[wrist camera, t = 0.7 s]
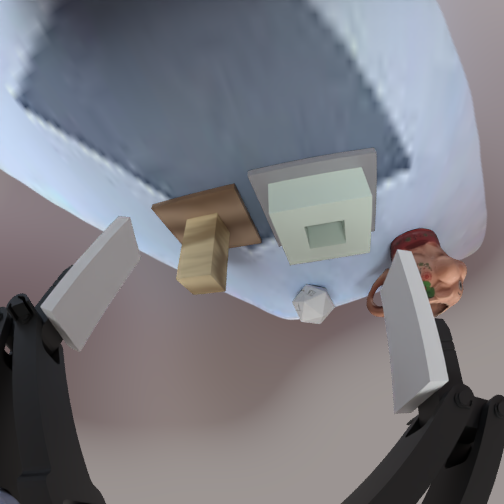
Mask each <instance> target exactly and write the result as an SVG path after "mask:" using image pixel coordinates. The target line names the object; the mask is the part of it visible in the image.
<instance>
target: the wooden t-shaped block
mask: <svg viewBox="0 0 504 504" xmlns="http://www.w3.org/2000/svg"><path fill="white" fill-rule="evenodd" d="M151 209H152V210H153V211H154V212H155V214H156V215H157V216H158V217H159V218H160V219H161V221H162V222H163V223H164V224H165V225H166V227H167V228H168V229H169V230H170V231H171V232H172V234H173V235H174V236H175V237H176V238H177V239H178V240H179V242H180V243H181V244H182V247H181V253H180V258H179V264H178V270H177V276H176V280H178V281H179V282H180V283H181V284H182V285H183V286H184V287H186V288H187V289H188V290H189V291H190V292H191V293H192V294H194V295H196V294H206V293H215V292H225V291H226V277H227V263H228V249H229V248H234V247H240V246H246V245H252V244H258V243H261V237H260V235H259V233H258V231H257V229H256V227H255V225H254V223H253V221H252V219H251V217H250V214H249V212H248V210H247V208H246V206H245V204H244V202H243V200H242V198H241V196H240V194H239V192H238V190H237V188H236V186H235V184H230V185H226V186H222V187H217V188H213V189H209V190H205V191H201V192H197V193H193V194H189V195H186V196H182V197H178V198H174V199H171V200H167V201H163V202H160V203H156V204H153V205H152V208H151Z"/></svg>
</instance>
